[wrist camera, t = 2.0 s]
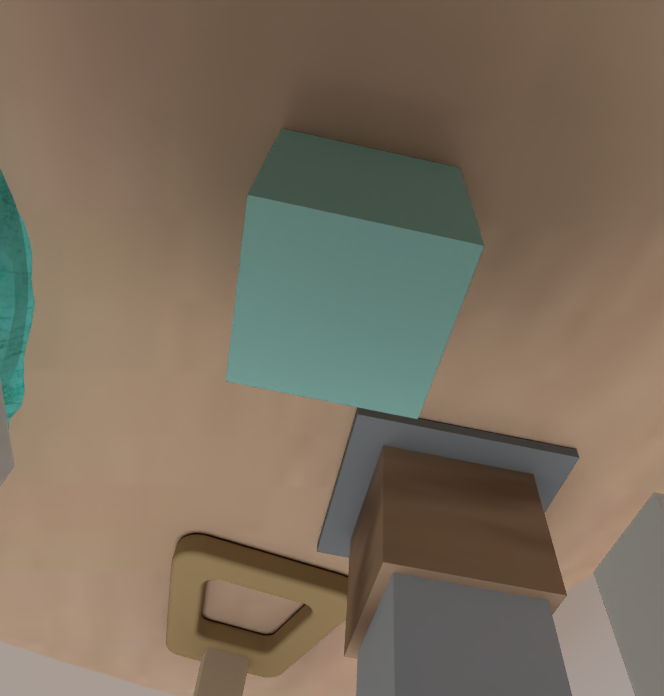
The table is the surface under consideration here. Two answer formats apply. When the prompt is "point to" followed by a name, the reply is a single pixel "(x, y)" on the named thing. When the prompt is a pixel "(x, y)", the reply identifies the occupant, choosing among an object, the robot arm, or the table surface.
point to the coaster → (436, 440)
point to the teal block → (350, 273)
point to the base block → (447, 533)
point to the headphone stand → (236, 644)
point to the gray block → (459, 643)
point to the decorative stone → (13, 299)
